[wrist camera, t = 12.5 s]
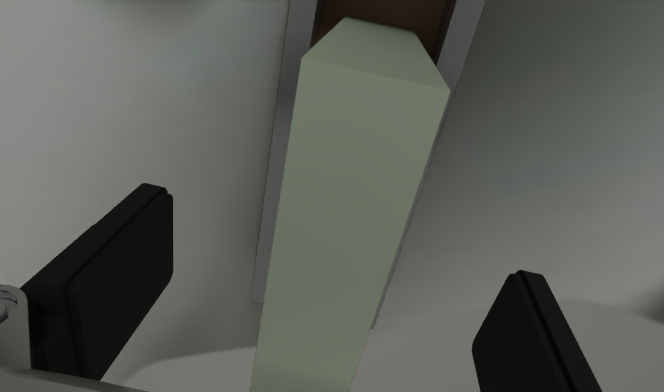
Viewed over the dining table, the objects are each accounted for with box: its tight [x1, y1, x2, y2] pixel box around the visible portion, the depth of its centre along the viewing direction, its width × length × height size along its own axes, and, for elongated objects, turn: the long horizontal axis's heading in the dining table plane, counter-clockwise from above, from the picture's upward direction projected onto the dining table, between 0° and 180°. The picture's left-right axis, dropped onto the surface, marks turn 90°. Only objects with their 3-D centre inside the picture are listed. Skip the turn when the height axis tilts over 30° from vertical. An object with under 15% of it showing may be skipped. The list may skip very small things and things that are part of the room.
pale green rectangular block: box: [250, 16, 451, 392], centre depth 16 cm, size 12×3×11 cm, turn 169°
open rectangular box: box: [251, 0, 486, 329], centre depth 20 cm, size 18×8×4 cm, turn 169°
